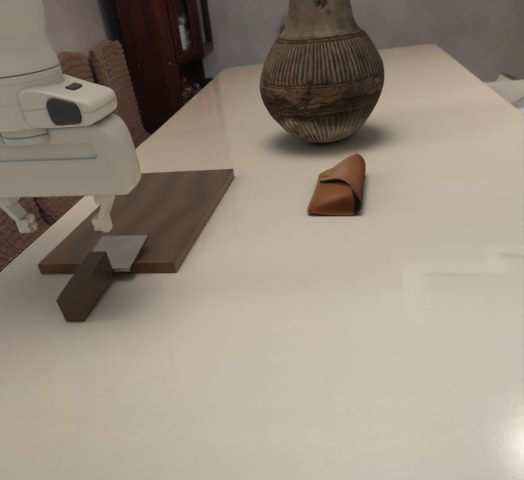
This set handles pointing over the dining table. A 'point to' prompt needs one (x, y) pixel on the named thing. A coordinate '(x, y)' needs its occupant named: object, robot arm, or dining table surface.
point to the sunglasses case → (340, 188)
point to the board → (150, 221)
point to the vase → (321, 72)
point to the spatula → (98, 273)
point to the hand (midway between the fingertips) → (66, 230)
